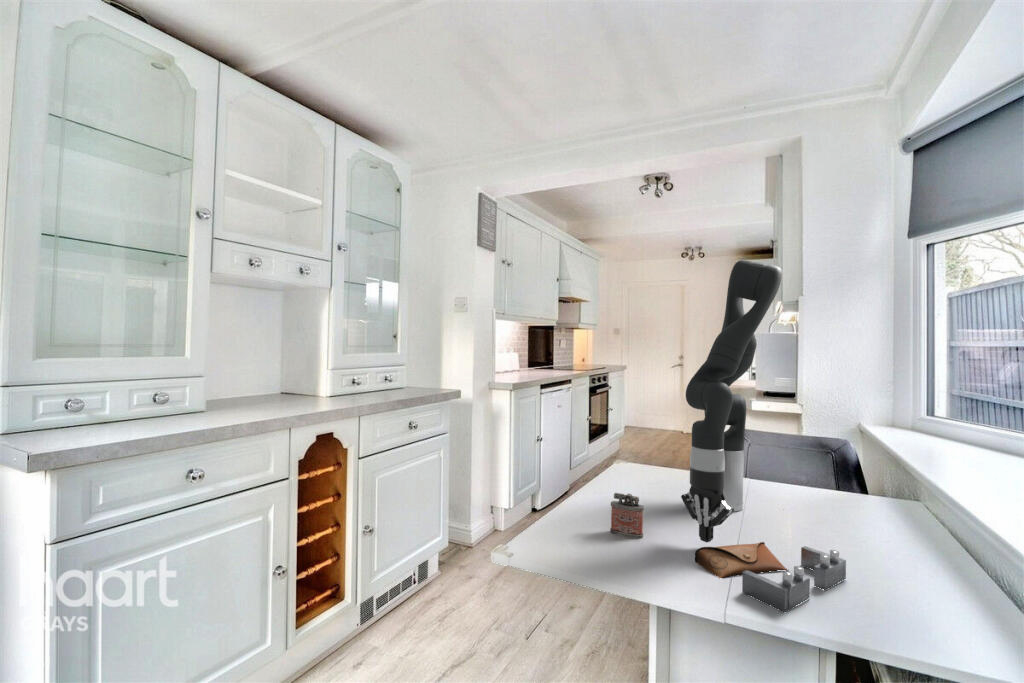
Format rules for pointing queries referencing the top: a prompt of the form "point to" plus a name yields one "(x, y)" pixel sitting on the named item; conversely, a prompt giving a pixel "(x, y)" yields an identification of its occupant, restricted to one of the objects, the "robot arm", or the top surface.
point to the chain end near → (778, 589)
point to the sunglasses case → (737, 559)
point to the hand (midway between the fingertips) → (705, 540)
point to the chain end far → (824, 566)
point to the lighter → (627, 516)
